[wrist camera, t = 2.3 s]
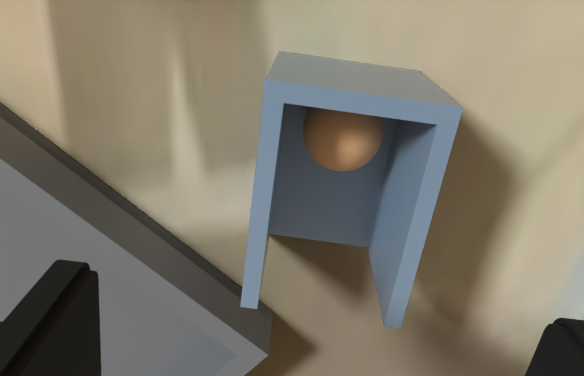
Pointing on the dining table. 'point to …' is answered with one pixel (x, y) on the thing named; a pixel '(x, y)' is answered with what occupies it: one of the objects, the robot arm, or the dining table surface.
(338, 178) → the blue open box
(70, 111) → the dining table surface
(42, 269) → the tray
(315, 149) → the ball
